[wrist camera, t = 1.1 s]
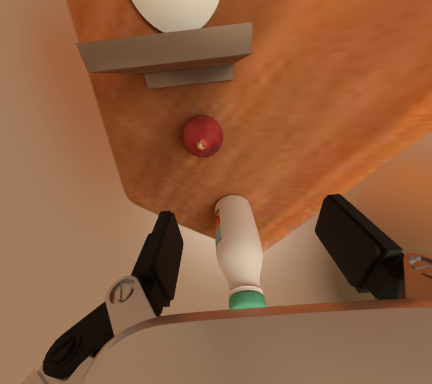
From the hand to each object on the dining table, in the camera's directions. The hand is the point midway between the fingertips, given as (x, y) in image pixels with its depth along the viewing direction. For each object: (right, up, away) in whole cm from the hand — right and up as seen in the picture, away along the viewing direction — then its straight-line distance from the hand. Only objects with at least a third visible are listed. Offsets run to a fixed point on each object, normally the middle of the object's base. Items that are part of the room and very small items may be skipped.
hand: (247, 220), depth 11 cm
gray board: (-6, +19, +12) cm, 23 cm away
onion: (-4, +12, +17) cm, 21 cm away
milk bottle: (+2, -2, +26) cm, 26 cm away
